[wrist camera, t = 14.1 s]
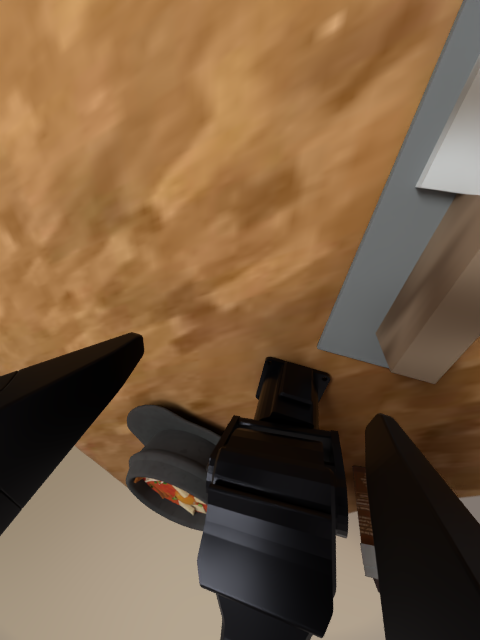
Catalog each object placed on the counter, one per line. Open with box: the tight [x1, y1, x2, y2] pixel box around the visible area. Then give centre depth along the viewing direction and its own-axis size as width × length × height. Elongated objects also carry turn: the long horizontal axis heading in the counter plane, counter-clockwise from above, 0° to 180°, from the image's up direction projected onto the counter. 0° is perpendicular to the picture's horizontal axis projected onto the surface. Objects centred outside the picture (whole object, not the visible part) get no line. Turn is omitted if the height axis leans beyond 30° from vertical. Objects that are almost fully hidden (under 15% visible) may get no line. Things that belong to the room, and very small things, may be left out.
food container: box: [352, 466, 380, 593], centre depth 25 cm, size 12×6×10 cm, turn 26°
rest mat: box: [317, 0, 480, 368], centre depth 14 cm, size 22×10×1 cm, turn 172°
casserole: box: [126, 405, 221, 531], centre depth 34 cm, size 25×19×8 cm
